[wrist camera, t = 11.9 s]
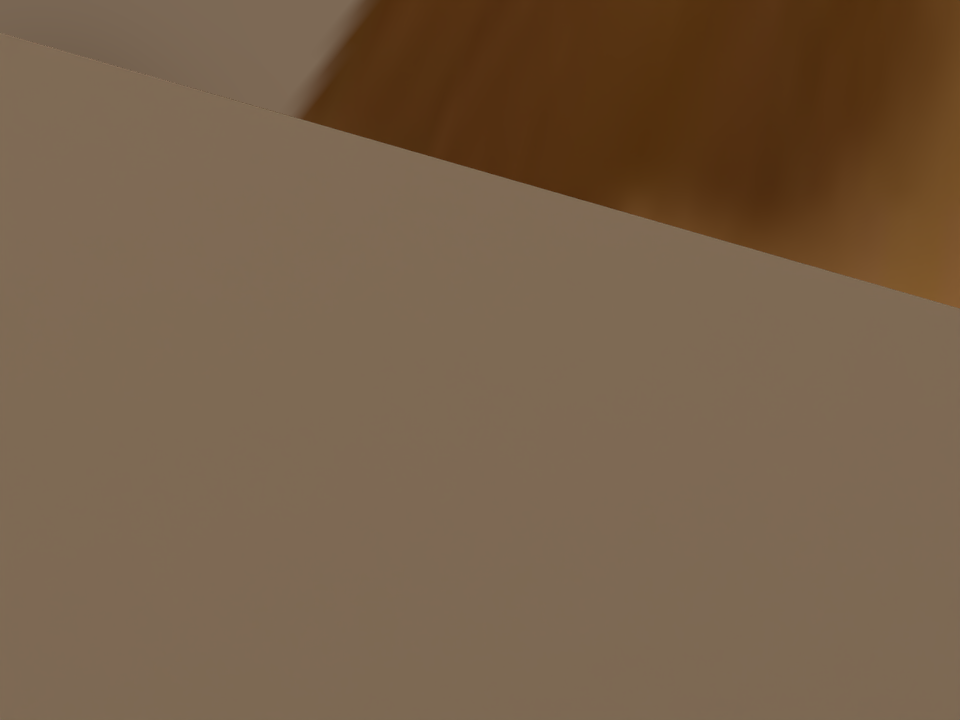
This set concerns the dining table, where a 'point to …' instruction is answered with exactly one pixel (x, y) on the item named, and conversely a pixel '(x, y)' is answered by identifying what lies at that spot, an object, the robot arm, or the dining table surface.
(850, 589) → the plank
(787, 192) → the dining table surface
